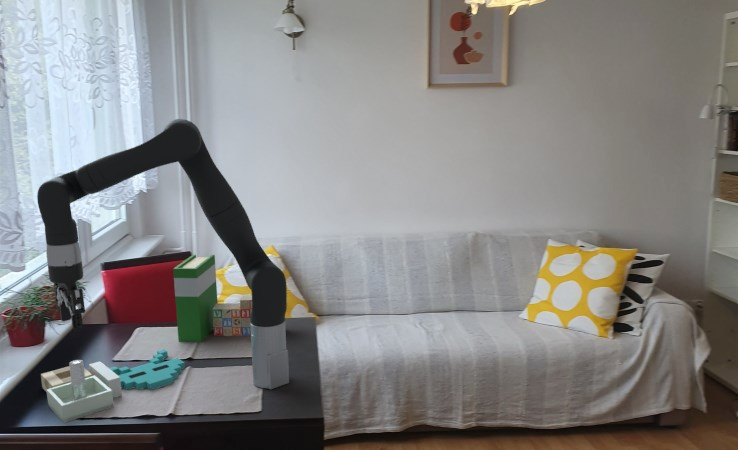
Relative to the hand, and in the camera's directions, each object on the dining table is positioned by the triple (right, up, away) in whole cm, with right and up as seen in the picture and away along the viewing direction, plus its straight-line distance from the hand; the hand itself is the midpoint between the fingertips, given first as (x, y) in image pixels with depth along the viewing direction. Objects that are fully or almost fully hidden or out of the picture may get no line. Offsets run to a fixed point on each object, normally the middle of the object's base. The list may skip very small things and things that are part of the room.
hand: (72, 324), depth 160 cm
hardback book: (+17, -11, +55) cm, 58 cm away
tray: (0, -21, +4) cm, 22 cm away
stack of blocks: (+33, -11, +54) cm, 64 cm away
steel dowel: (0, -20, +4) cm, 21 cm away
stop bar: (+3, -19, +14) cm, 24 cm away
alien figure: (+11, -18, +23) cm, 31 cm away
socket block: (-8, -19, +15) cm, 25 cm away
